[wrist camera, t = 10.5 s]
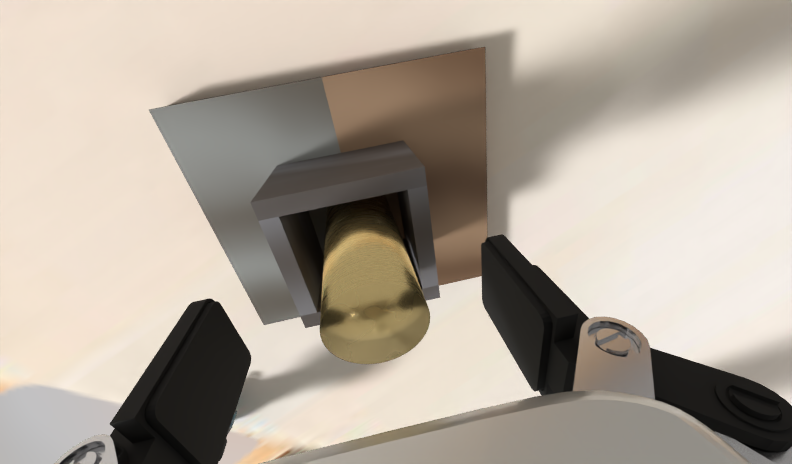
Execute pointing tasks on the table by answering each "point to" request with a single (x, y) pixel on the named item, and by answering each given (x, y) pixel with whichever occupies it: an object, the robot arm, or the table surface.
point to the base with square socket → (340, 171)
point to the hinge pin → (369, 285)
